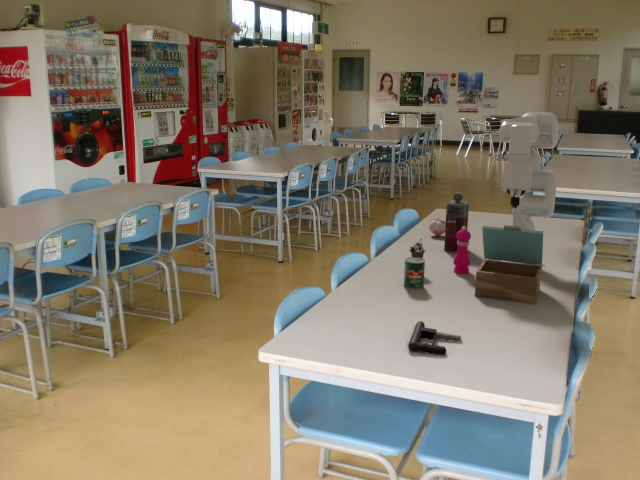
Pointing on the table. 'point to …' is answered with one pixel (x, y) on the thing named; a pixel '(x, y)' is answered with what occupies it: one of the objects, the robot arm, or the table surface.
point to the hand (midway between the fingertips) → (514, 207)
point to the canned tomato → (414, 273)
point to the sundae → (417, 250)
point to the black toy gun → (429, 334)
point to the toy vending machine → (455, 221)
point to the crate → (508, 281)
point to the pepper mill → (462, 252)
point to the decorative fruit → (437, 227)
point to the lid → (513, 244)
